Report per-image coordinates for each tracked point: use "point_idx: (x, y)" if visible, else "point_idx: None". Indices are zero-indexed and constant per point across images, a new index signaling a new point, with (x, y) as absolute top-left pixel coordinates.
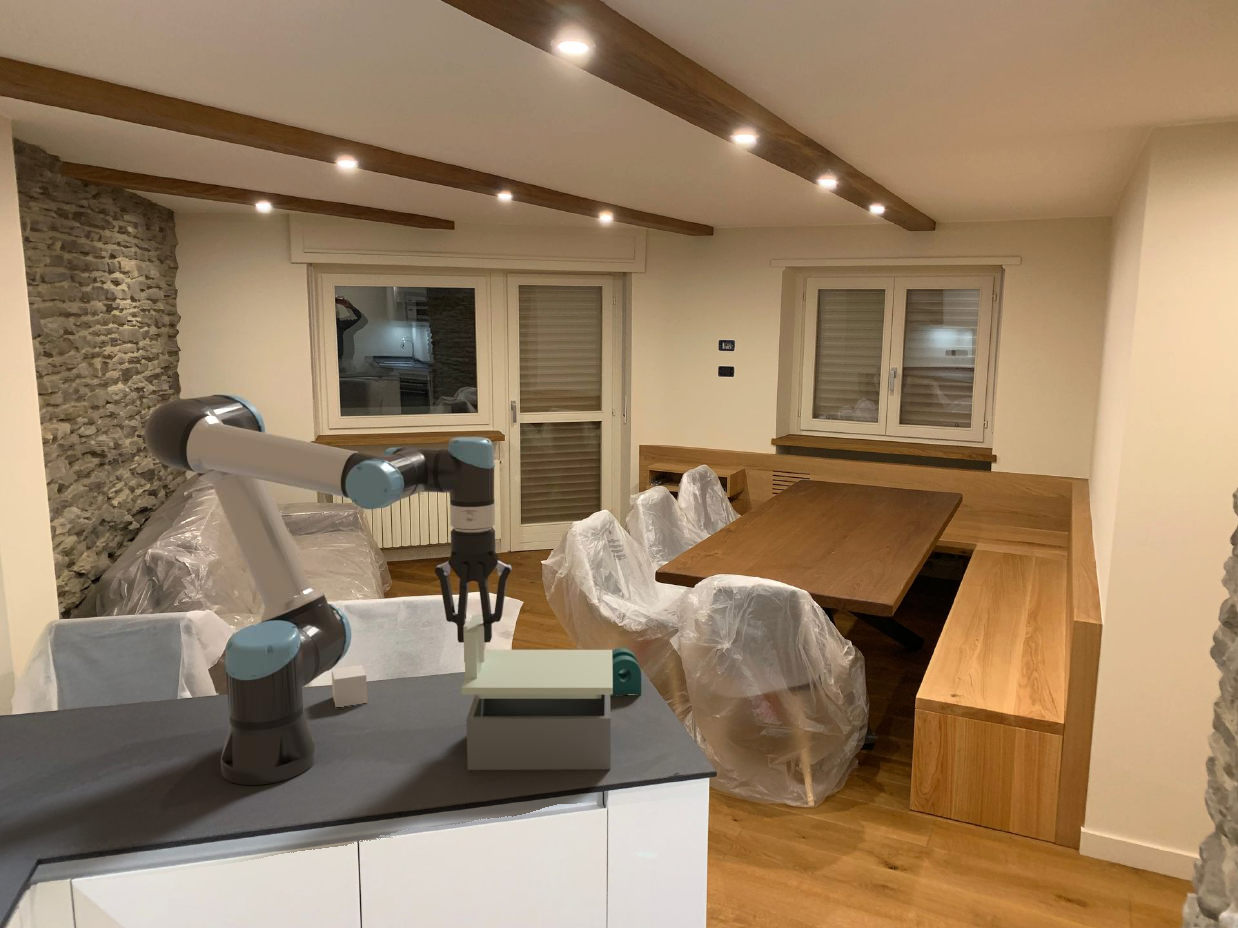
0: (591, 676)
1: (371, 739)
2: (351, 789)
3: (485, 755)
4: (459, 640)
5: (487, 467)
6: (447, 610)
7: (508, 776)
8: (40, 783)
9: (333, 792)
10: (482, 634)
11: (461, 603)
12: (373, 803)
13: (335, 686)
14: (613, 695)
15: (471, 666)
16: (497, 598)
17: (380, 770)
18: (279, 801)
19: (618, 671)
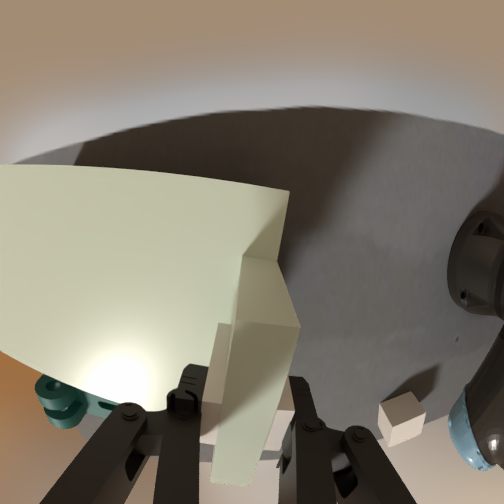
0: (2, 227)
1: (390, 313)
2: (413, 172)
3: None
4: (301, 381)
5: None
6: (378, 462)
7: (201, 162)
8: None
9: (430, 171)
10: (211, 377)
11: (319, 499)
12: (386, 127)
13: (421, 407)
14: None
15: (259, 268)
16: (90, 490)
17: (385, 217)
18: (470, 169)
19: (56, 391)
